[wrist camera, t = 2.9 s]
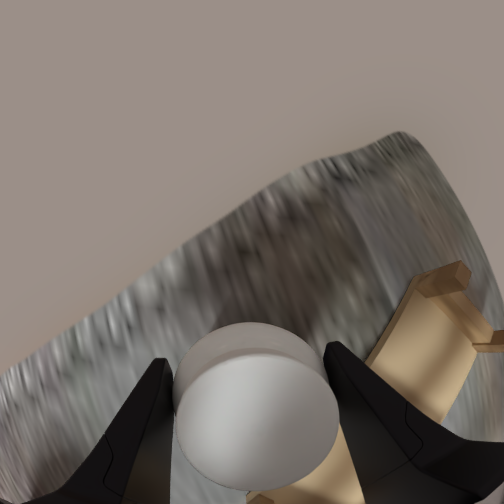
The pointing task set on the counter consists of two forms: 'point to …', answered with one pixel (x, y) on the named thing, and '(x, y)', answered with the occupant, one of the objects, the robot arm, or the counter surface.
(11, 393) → the counter surface
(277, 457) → the pill bottle
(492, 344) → the rack
